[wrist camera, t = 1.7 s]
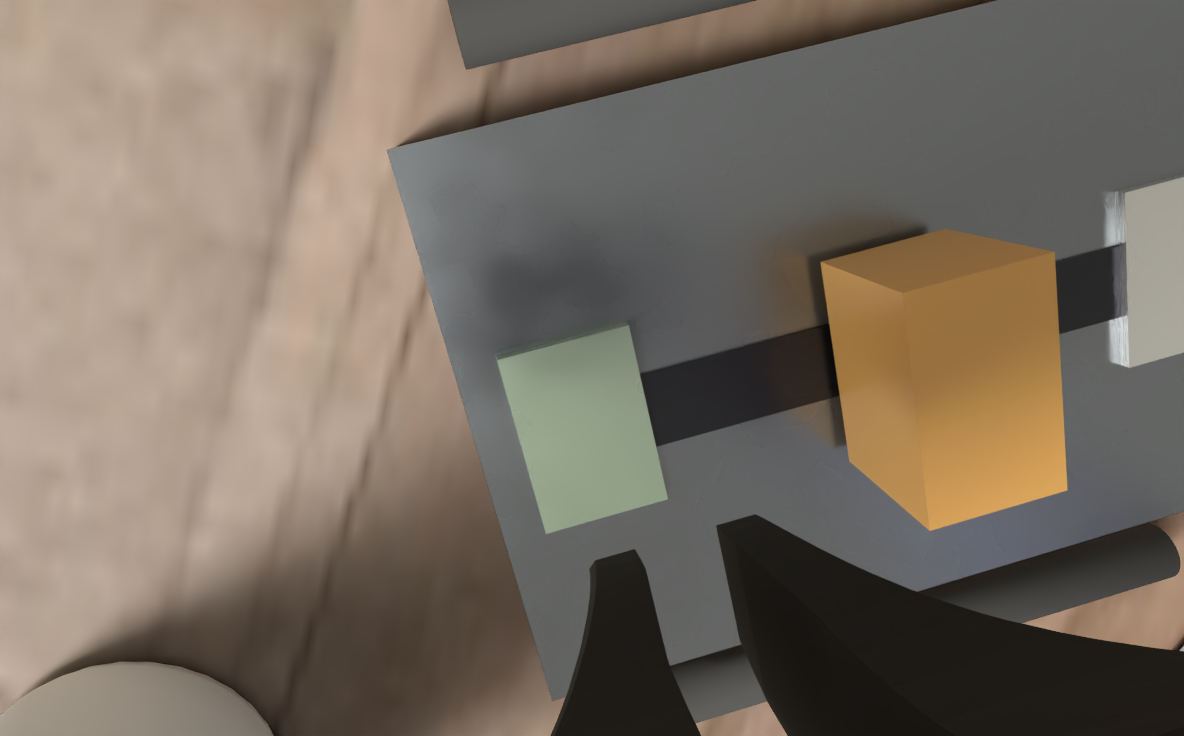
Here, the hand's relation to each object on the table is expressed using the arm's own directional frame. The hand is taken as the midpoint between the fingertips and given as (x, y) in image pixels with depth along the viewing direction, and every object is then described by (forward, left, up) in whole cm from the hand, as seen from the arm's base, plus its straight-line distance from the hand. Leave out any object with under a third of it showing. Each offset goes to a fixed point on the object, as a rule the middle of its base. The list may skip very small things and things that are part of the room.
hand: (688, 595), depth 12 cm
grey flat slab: (-5, -5, -9) cm, 12 cm away
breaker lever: (-5, -5, -7) cm, 10 cm away
